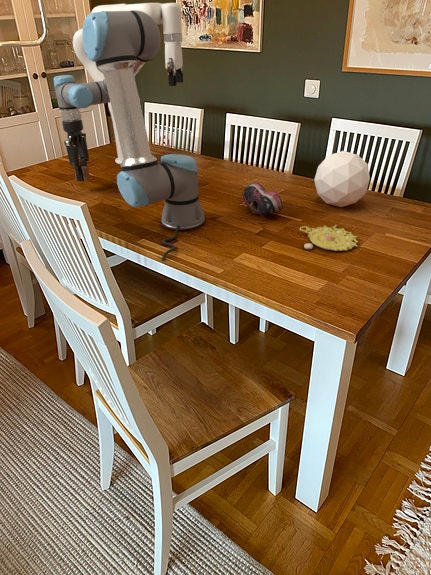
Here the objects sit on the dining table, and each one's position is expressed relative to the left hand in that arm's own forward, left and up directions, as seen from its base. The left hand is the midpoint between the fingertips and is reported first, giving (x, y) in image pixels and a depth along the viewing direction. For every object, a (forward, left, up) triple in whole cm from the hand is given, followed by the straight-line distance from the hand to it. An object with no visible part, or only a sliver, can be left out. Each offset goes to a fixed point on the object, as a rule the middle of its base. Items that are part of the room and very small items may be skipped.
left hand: (176, 84), depth 190 cm
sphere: (+26, +76, -36) cm, 88 cm away
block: (+41, -26, -31) cm, 58 cm away
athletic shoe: (+41, +49, -36) cm, 73 cm away
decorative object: (+57, +77, -36) cm, 102 cm away
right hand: (+41, -26, -31) cm, 58 cm away
